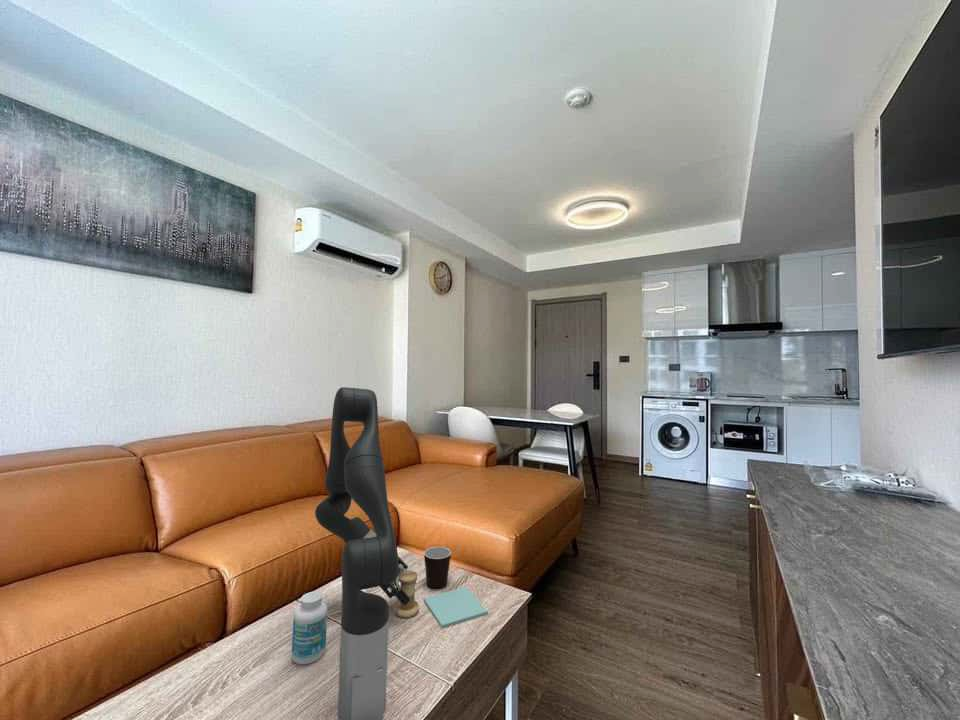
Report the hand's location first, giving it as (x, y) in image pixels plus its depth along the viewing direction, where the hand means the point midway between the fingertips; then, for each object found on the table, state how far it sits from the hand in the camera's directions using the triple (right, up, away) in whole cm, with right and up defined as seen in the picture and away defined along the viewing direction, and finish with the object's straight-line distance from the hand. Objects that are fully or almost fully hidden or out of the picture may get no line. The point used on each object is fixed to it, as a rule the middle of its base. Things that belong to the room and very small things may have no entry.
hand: (410, 593), depth 110 cm
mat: (+12, -5, +2) cm, 14 cm away
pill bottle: (-21, -4, -18) cm, 28 cm away
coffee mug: (+6, -6, +16) cm, 18 cm away
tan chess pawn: (-1, -5, 0) cm, 5 cm away
